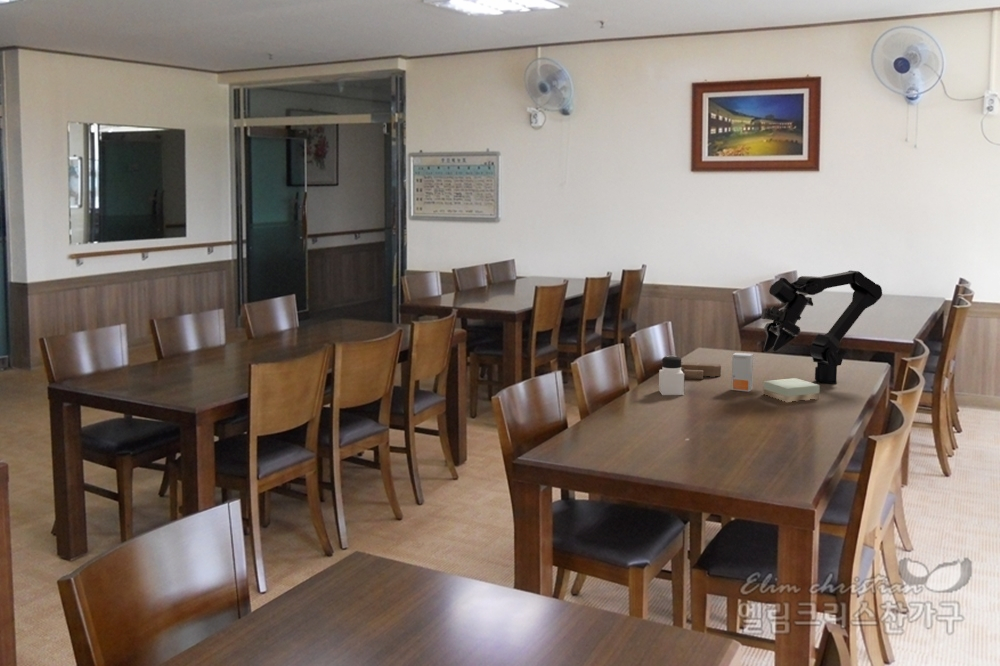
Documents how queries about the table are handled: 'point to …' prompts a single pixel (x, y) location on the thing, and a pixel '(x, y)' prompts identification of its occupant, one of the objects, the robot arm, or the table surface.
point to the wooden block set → (700, 370)
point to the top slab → (791, 387)
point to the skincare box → (742, 372)
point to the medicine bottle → (671, 376)
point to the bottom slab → (791, 398)
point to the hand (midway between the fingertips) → (769, 351)
